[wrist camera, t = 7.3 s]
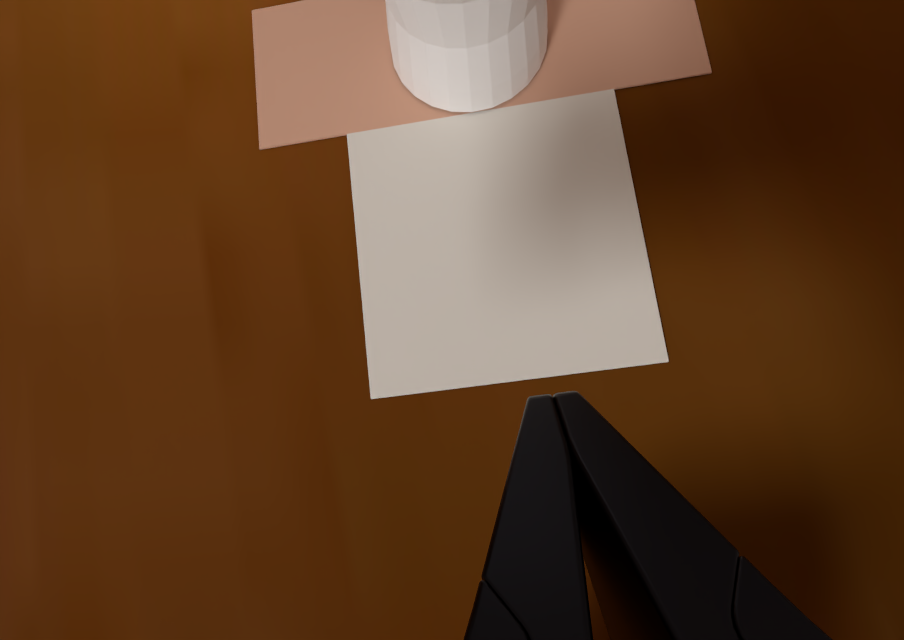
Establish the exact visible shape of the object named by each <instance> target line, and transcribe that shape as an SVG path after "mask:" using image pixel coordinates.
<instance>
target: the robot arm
mask: <svg viewBox="0 0 904 640" xmlns="http://www.w3.org/2000/svg"><path fill="white" fill-rule="evenodd" d="M583 557H584V559H583ZM584 560H585V563H586V566H587V569H588V572H589V575H590V578H591V582H592V585H593V588H594V591H595V594H596V597H597V600H598V603H599V606H600V609H601V612H602V615H603V618H604V621H605V624H606V627H607V630H608V633H609V637H610V640H832V639H831V638H830V637H829V636H828V635H826V634H825V633H824V632H823V631H822V630H821V629H820V628H818V627H817V626H816V625H815V624H814V623H813V622H812V621H810V620H809V619H808V618H807V617H806V616H805V615H804V614H803V613H802V612H801V611H800V610H799V609H798V608H797V607H796V606H795V605H794V604H792V603H791V602H790V601H789V600H788V599H787V598H786V597H785V596H784V595H783V594H782V593H781V592H780V591H779V590H778V589H777V588H776V587H775V586H773V585H772V584H771V583H770V582H769V581H768V580H767V579H766V578H765V577H764V576H763V575H762V574H761V573H760V572H759V571H758V570H757V569H756V568H755V567H754V566H753V565H752V564H751V563H750V562H749V561H748V560H747V559H746V558H745V557H744V556H740V557H739V552H738V550H737V549H736V548H735V547H734V546H733V545H732V544H731V543H730V542H729V541H728V540H727V539H726V538H725V537H724V536H723V535H722V534H721V533H720V532H719V531H718V530H717V529H716V528H715V527H714V526H713V525H712V524H711V523H710V522H709V521H708V520H707V519H706V518H705V517H704V516H703V515H702V514H701V513H700V512H699V511H698V510H697V509H695V508H694V507H693V506H692V505H691V504H690V503H689V502H688V501H687V500H686V499H685V498H684V497H683V496H682V495H681V494H680V493H679V492H678V491H677V490H676V489H675V488H674V487H673V486H672V485H671V484H670V483H669V482H668V481H667V480H666V479H665V478H664V477H663V476H662V475H661V474H660V473H659V472H658V471H657V470H656V469H655V468H654V467H653V466H652V465H651V464H650V463H649V462H648V461H647V460H646V459H645V458H644V457H643V456H642V455H641V454H640V453H639V452H638V451H637V450H636V449H635V448H634V447H633V446H632V445H631V444H630V443H629V442H628V441H627V440H626V439H625V438H624V437H623V436H622V435H621V434H620V433H619V432H618V431H617V430H616V429H615V428H614V427H613V426H612V425H611V424H610V423H609V422H608V421H607V420H606V419H605V418H604V417H603V416H602V415H601V414H600V413H599V412H598V411H597V410H596V409H595V408H594V407H593V406H592V405H591V404H590V403H589V402H588V401H587V400H586V399H585V398H583V397H582V396H581V395H580V394H579V393H578V392H576V391H570V392H562V393H556V394H554V395H553V397H552V396H551V395H550V394H545V395H537V396H530V397H529V398H528V399H527V403H526V406H525V410H524V414H523V418H522V422H521V426H520V430H519V433H518V437H517V441H516V445H515V449H514V453H513V457H512V460H511V464H510V468H509V472H508V476H507V480H506V484H505V487H504V491H503V495H502V499H501V503H500V507H499V510H498V514H497V518H496V522H495V526H494V530H493V534H492V537H491V541H490V545H489V549H488V553H487V557H486V561H485V564H484V568H483V572H482V581H480V583H479V586H478V590H477V594H476V598H475V602H474V605H473V609H472V613H471V616H470V619H469V623H468V626H467V630H466V633H465V636H464V640H593V635H592V627H591V618H590V610H589V601H588V593H587V585H586V576H585V568H584Z"/></svg>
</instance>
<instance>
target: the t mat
mask: <svg viewBox="0 0 904 640" xmlns="http://www.w3.org/2000/svg"><path fill="white" fill-rule="evenodd" d="M252 22H253V40H254V58H255V76H256V94H257V112H258V130H259V149H260V150H262V149H268V148H274V147H280V146H285V145H291V144H297V143H303V142H309V141H315V140H321V139H327V138H333V137H339V136H345V135H347V141H348V152H349V163H350V174H351V185H352V196H353V207H354V218H355V230H356V241H357V252H358V263H359V274H360V285H361V296H362V307H363V318H364V329H365V340H366V351H367V362H368V373H369V384H370V395H371V399H377V398H385V397H393V396H400V395H408V394H416V393H424V392H432V391H440V390H448V389H456V388H464V387H472V386H480V385H488V384H496V383H504V382H512V381H520V380H528V379H536V378H544V377H552V376H560V375H568V374H576V373H584V372H592V371H600V370H608V369H616V368H624V367H632V366H640V365H648V364H656V363H664V362H669V360H668V355H667V350H666V345H665V340H664V335H663V330H662V325H661V320H660V315H659V310H658V305H657V300H656V296H655V291H654V286H653V281H652V276H651V271H650V266H649V261H648V256H647V251H646V246H645V241H644V236H643V231H642V226H641V221H640V216H639V211H638V206H637V201H636V196H635V191H634V186H633V181H632V176H631V171H630V166H629V161H628V156H627V151H626V146H625V141H624V136H623V131H622V126H621V121H620V116H619V111H618V106H617V101H616V96H615V91H614V90H617V89H623V88H629V87H635V86H640V85H646V84H652V83H658V82H664V81H670V80H676V79H682V78H688V77H694V76H700V75H706V74H711V73H712V70H711V66H710V62H709V58H708V54H707V50H706V46H705V42H704V37H703V33H702V29H701V25H700V21H699V17H698V13H697V9H696V4H695V0H547V29H548V32H547V49H546V53H545V55H544V58H543V61H542V64H541V66H540V69H539V70H538V72H537V73H536V74H535V76H534V77H533V79H532V80H531V81H530V83H529V84H528V85H527V86H526V87H525V88H524V89H523V90H521V91H520V92H519V93H518V94H517V95H515V96H514V97H513V98H512V99H510V100H507V101H505V102H503V103H501V104H499V105H497V106H495V107H493V108H489V109H484V110H480V111H475V112H450V111H447V110H443V109H440V108H436V107H432V106H430V105H429V104H427V103H425V102H423V101H422V100H420V99H418V98H417V97H415V96H414V95H413V94H412V93H411V92H410V91H409V90H408V89H407V88H406V87H405V86H404V84H403V83H402V82H401V80H400V78H399V76H398V74H397V72H396V70H395V68H394V64H393V59H392V53H391V47H390V41H389V34H388V27H387V15H386V3H385V0H303V1H298V2H293V3H288V4H282V5H277V6H272V7H267V8H262V9H256V10H252Z"/></svg>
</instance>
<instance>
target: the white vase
mask: <svg viewBox="0 0 904 640" xmlns="http://www.w3.org/2000/svg"><path fill="white" fill-rule="evenodd" d="M385 3H386V15H387V27H388V34H389V41H390V47H391V53H392V59H393V64H394V68H395V70H396V72H397V74H398V76H399V78H400V80H401V82H402V83H403V84H404V86H405V87H406V88H407V89H408V90H409V91H410V92H411V93H412V94H413V95H414V96H415V97H417V98H418V99H420V100H422V101H423V102H425V103H427V104H429V105H430V106H432V107H436V108H440V109H443V110H447V111H450V112H475V111H480V110H484V109H489V108H493V107H495V106H497V105H499V104H501V103H503V102H505V101H507V100H510V99H512V98H513V97H514V96H515V95H517V94H518V93H519V92H520V91H521V90H523V89H524V88H525V87H526V86H527V85H528V84H529V83H530V81H531V80H532V79H533V77H534V76H535V74H536V73H537V72H538V70H539V69H540V66H541V64H542V61H543V58H544V55H545V53H546V49H547V32H548V29H547V0H385Z"/></svg>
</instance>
